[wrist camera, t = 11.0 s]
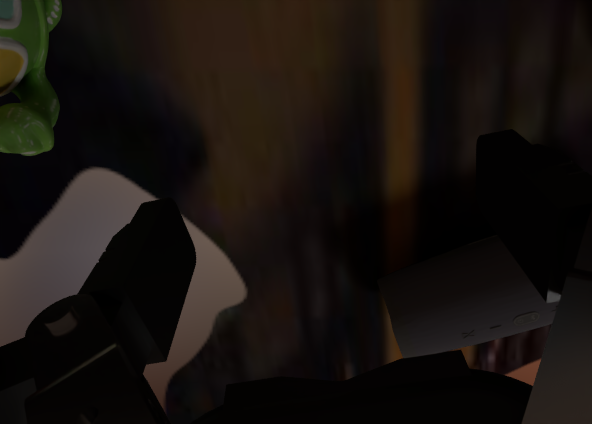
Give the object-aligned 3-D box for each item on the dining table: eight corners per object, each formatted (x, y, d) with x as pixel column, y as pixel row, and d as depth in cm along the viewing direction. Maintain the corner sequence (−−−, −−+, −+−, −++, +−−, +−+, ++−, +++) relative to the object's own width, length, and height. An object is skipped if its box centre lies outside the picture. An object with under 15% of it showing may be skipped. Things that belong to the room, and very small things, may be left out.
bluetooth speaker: (390, 311, 50) (413, 384, 41) (368, 253, 45) (388, 322, 37) (591, 251, 46) (661, 318, 38) (589, 180, 42) (668, 238, 33)
